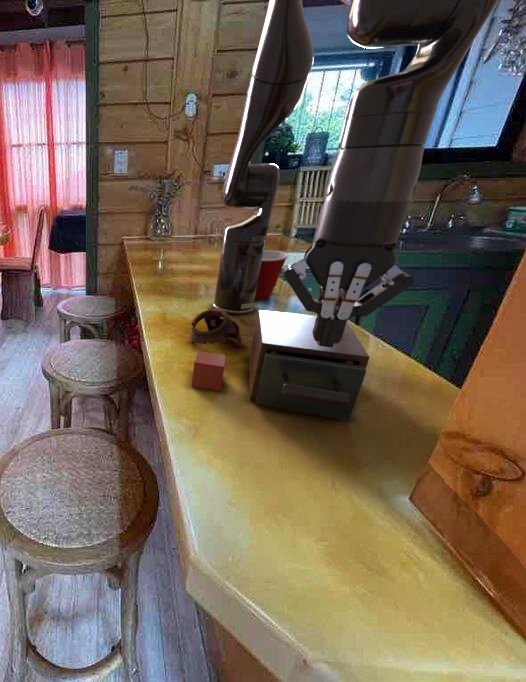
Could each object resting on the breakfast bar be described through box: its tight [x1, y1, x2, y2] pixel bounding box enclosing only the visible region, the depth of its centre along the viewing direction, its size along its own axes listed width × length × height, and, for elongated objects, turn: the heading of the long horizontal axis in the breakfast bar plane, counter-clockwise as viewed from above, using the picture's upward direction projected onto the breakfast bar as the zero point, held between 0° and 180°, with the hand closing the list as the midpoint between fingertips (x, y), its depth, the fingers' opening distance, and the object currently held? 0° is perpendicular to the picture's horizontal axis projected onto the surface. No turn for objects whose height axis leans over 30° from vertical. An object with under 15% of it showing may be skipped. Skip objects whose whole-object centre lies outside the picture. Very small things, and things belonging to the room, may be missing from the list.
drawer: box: [255, 349, 368, 422], centre depth 55 cm, size 18×12×8 cm, turn 157°
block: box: [191, 350, 226, 392], centre depth 62 cm, size 4×4×4 cm
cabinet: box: [248, 309, 370, 402], centre depth 59 cm, size 15×13×10 cm
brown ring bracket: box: [189, 306, 242, 348], centre depth 76 cm, size 12×10×8 cm
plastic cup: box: [254, 249, 290, 301], centre depth 100 cm, size 11×11×12 cm
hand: (323, 344), depth 47 cm, fingers closed
